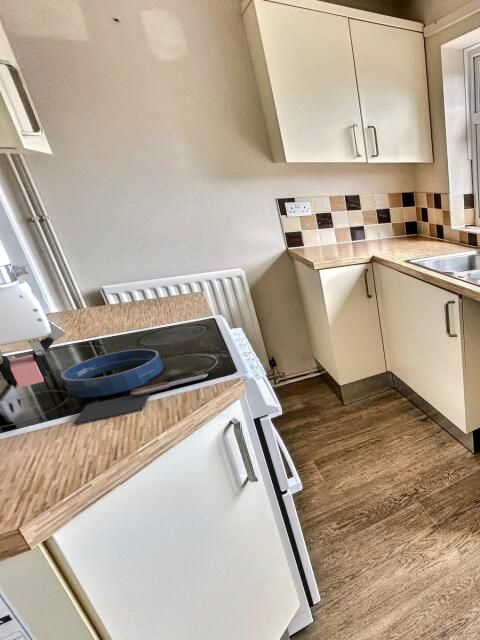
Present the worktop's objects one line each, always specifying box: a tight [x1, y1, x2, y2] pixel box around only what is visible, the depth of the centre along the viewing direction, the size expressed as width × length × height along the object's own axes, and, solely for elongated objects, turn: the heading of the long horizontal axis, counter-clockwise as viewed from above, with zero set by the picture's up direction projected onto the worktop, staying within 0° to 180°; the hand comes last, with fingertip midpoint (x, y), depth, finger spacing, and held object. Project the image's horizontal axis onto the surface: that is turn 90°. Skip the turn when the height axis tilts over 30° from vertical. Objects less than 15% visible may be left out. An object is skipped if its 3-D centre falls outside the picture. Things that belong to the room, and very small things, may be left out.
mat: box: [72, 393, 151, 426], centre depth 83 cm, size 10×8×1 cm
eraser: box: [8, 354, 45, 388], centre depth 76 cm, size 3×6×4 cm, turn 49°
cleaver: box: [129, 373, 209, 396], centre depth 91 cm, size 13×2×5 cm
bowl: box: [60, 348, 165, 398], centre depth 93 cm, size 16×16×4 cm
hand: (29, 376), depth 76 cm, fingers closed on eraser, 3 cm apart
